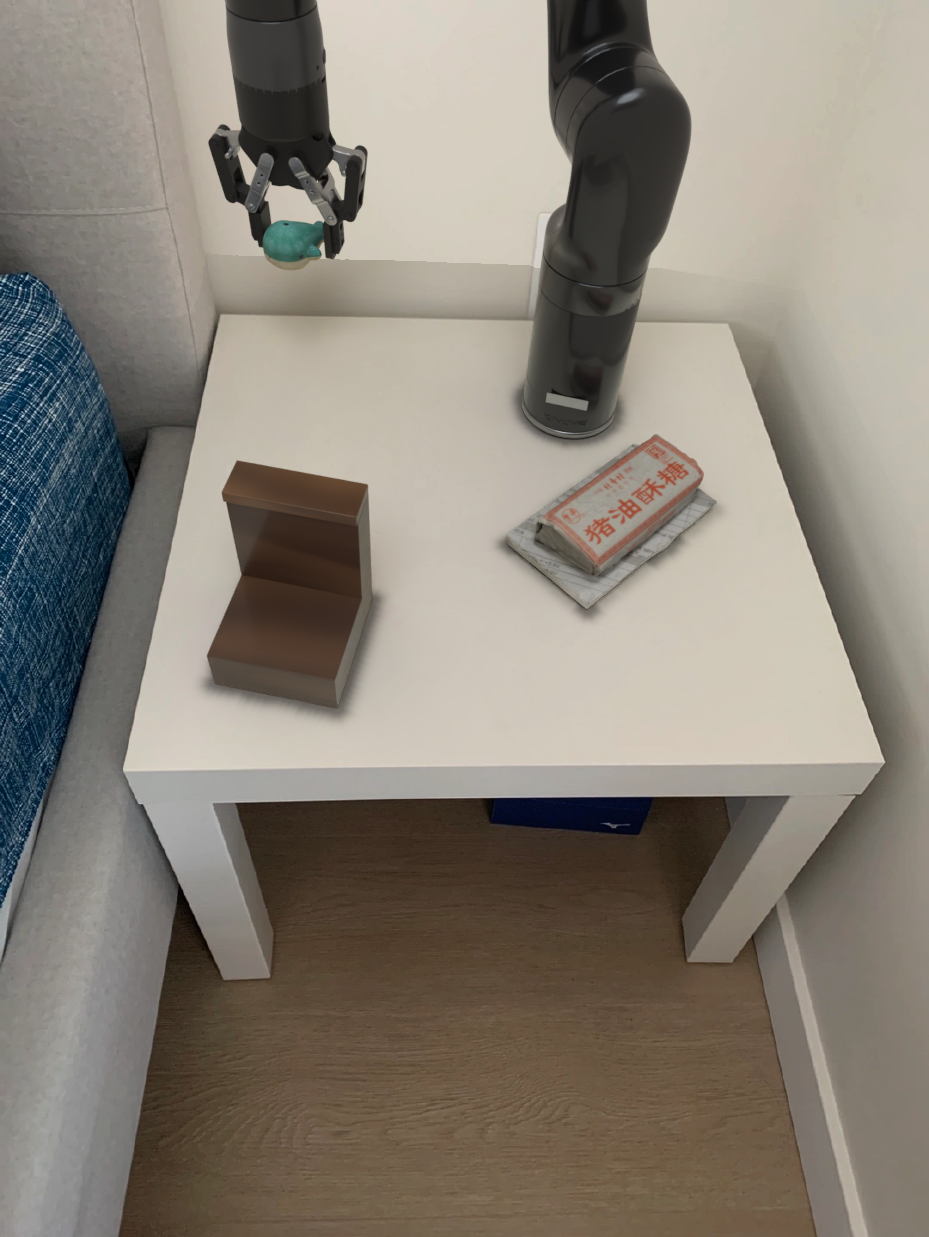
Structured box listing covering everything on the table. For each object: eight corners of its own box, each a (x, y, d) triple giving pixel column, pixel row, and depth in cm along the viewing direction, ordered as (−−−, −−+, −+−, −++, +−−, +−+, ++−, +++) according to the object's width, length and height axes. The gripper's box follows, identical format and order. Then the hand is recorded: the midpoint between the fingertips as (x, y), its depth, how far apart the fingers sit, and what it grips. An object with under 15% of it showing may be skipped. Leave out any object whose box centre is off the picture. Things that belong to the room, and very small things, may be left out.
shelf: (258, 577, 83) (236, 459, 72) (372, 599, 83) (368, 483, 71) (214, 683, 77) (182, 572, 66) (337, 708, 76) (326, 600, 65)
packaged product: (643, 414, 91) (728, 473, 87) (633, 452, 95) (714, 509, 91) (508, 509, 83) (595, 578, 79) (503, 546, 87) (586, 613, 83)
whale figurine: (251, 255, 93) (245, 219, 90) (312, 226, 96) (309, 190, 93) (289, 284, 90) (284, 247, 87) (350, 253, 93) (348, 217, 90)
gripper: (176, 73, 77) (213, 260, 91) (351, 98, 76) (362, 284, 90) (210, 31, 82) (240, 215, 95) (376, 54, 80) (383, 238, 94)
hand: (299, 248), depth 92 cm, fingers closed on whale figurine, 6 cm apart
